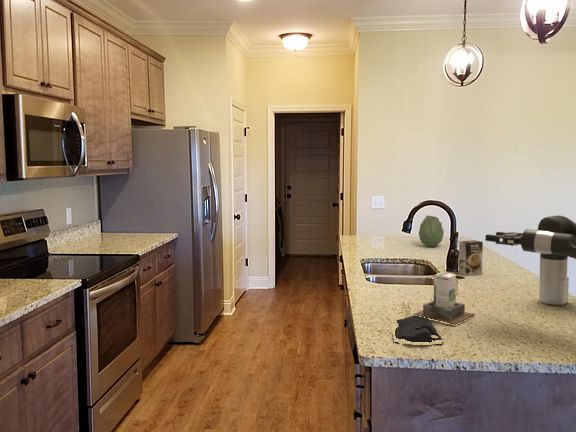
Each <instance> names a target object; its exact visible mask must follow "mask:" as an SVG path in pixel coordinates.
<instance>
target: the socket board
mask: <svg viewBox="0 0 576 432" xmlns="http://www.w3.org/2000/svg"><path fill="white" fill-rule="evenodd" d="M465 306H466V305H465V303H461V302H456V301H455V307H453V308H450V309H445V308H440V307H435V306H434V300H432V301H429V302H428V303H425V304H422V308H423V309H422V310H420V311H418V312H416V313H414V314H413V316H414V315H417V316H421V317H425V318H430V319H434V320H438V321H443V322H447V323H450V324H455V325H456V324H458V323H460V322H462V321H464V320H466V319H468V318H471V317H473V316H475V313H472V312H466V309H465V308H466V307H465ZM475 317H476V316H475ZM473 318H474V317H473ZM471 319H472V318H471Z"/></svg>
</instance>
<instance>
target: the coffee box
mask: <svg viewBox="0 0 576 432" xmlns="http://www.w3.org/2000/svg"><path fill="white" fill-rule="evenodd" d="M458 242H459V243H458V244H459V245H458V246H459V249H458V274H459V275H462V276H464V277H471V276H470V275H472V276H479V275H483V252H484V251H483V241H481V240H473V239H472V240H460V241H458Z"/></svg>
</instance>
